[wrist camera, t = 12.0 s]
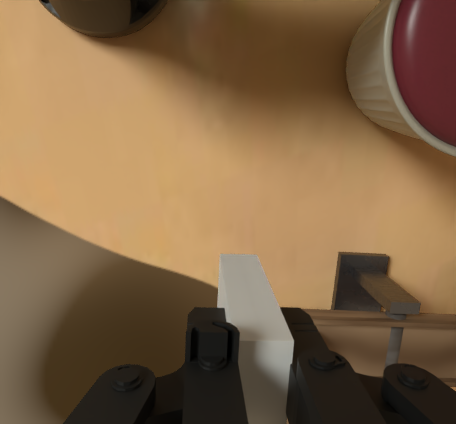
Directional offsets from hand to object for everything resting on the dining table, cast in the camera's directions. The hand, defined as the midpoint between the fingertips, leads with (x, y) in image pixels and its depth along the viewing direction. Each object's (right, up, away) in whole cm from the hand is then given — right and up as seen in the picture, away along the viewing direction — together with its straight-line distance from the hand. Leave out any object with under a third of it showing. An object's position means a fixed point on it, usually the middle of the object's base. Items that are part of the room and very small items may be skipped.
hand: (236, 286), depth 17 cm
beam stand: (+16, -9, +36) cm, 40 cm away
